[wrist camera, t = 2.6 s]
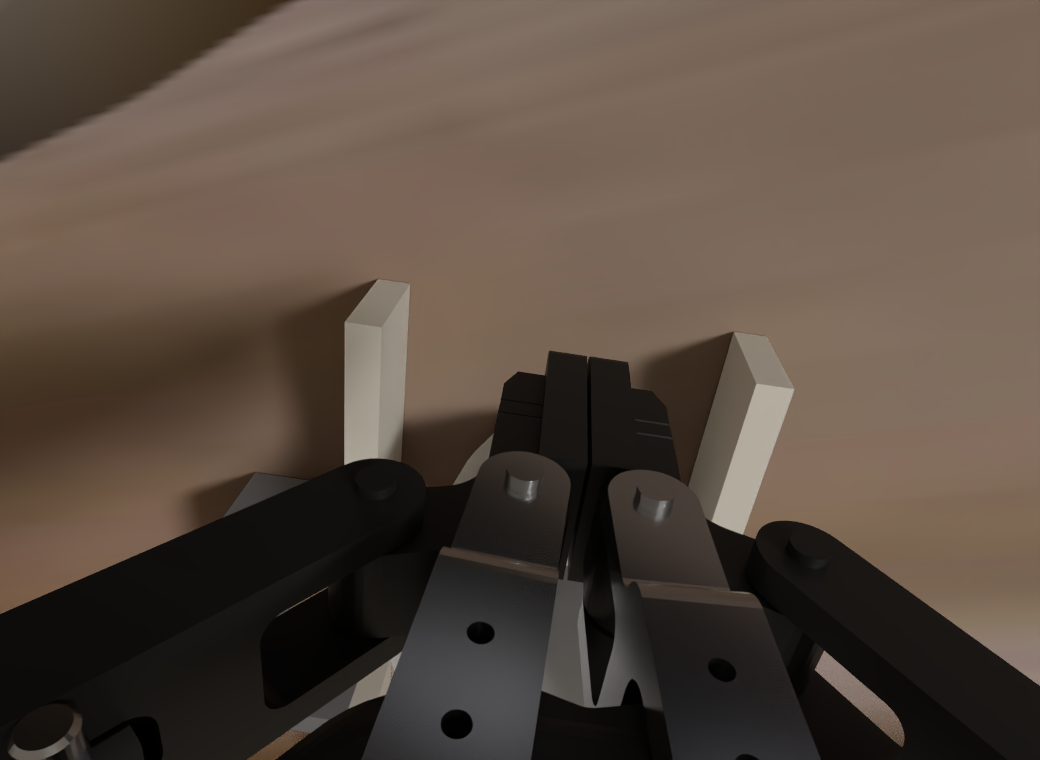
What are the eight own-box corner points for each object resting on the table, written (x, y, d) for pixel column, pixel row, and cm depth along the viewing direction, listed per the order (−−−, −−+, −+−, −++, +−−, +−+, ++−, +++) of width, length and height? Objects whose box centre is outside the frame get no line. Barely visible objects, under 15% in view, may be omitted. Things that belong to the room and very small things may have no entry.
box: (908, 357, 26) (959, 413, 22) (670, 905, 44) (677, 983, 40) (239, 258, 26) (185, 298, 22) (282, 840, 44) (255, 912, 41)
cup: (655, 528, 30) (682, 742, 21) (474, 547, 32) (429, 756, 23) (628, 361, 27) (647, 537, 18) (425, 392, 28) (350, 568, 19)
